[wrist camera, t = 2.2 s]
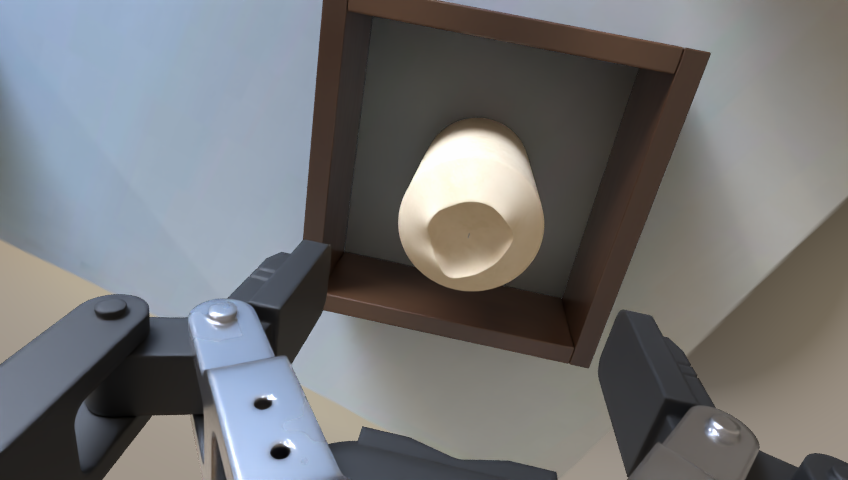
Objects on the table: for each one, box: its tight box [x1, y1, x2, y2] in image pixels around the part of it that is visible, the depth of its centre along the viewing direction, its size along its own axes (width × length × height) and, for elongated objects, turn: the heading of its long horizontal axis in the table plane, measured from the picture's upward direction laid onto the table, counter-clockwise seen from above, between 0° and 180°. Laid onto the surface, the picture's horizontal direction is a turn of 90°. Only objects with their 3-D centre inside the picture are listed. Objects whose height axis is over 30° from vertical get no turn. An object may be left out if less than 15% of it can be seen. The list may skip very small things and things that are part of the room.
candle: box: [398, 118, 544, 291], centre depth 22 cm, size 6×6×10 cm
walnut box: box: [303, 0, 711, 368], centre depth 24 cm, size 15×15×5 cm
